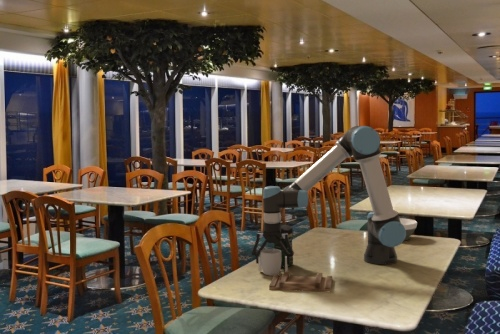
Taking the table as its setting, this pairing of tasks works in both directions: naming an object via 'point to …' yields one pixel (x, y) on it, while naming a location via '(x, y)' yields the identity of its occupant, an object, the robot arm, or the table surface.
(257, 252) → the robot arm
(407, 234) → the bowl
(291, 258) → the coffee jar
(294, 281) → the rack
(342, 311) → the table surface
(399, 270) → the table surface
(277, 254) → the mug
